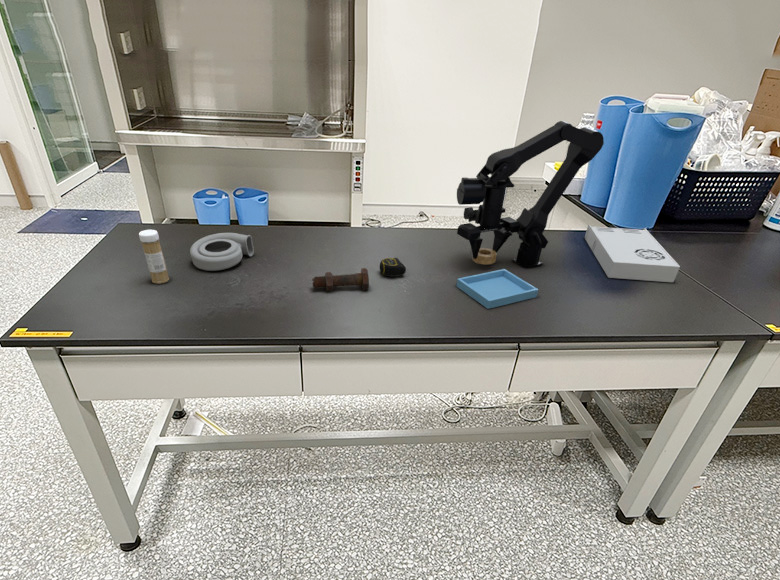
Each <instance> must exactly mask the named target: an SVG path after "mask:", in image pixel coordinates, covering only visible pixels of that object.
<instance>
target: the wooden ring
mask: <svg viewBox="0 0 780 580" xmlns="http://www.w3.org/2000/svg"><path fill="white" fill-rule="evenodd" d="M492 249H493V248H487V247H480V250H479V253H478V256H477V258H476V259H474V258H473V256H472V262H474V263H476V264H479V265H480V264H481V265H493V264H494V263H496V261H497V260H496V259H497V253H496V251H494V250H492Z"/></svg>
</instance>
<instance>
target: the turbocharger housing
mask: <svg viewBox="0 0 780 580" xmlns="http://www.w3.org/2000/svg"><path fill="white" fill-rule="evenodd" d="M189 253H190V257H191V261H192V264H193V265H194V266H195V267H196V268H197V269H200V270H203V271H208V272H216V271H218V272H219V271H224V270H226V269H231V268H232V267H234V266H237V265H238V264H239V263H240V262H241V261H242V258H243V255H245V256H248V257H253V255H254V254H255V247H254V242H253V237H252V235H250V234H248V235H247V234H242V233H236V232H220V233H219V232H218V233H214V234H209V235H206V236H203V237H202V238H200V239H198V240H196V241H195V242H194V243H193V244H192V245H191V247H190V249H189Z"/></svg>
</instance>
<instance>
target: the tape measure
mask: <svg viewBox="0 0 780 580" xmlns="http://www.w3.org/2000/svg"><path fill="white" fill-rule="evenodd" d="M406 270H407V268H406V265H404V264H403V263H402V261H401V260H400V259H399V258H398V257H386V258H383V259H382V260H380V263H379V271H380V273H381V274H382V275H383V276H387V277H398V276H403V275H404V274H406V272H407V271H406Z"/></svg>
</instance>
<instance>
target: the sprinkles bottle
mask: <svg viewBox="0 0 780 580" xmlns="http://www.w3.org/2000/svg"><path fill="white" fill-rule="evenodd" d="M138 237H139V241H140V242H141V245H142V250H143V253H144V257H145V260H146V265H147V267H148V271H149V275H150V277H151V278H150V279H151V282H152V283H153V284H157V285H158V284H159V285H161V284H165V283H167V282H169V281H170V277H169V274H168V270H167V264H166V261H165V257H164V254H163V251H162V247H161V243H160V236H159V232H158V231H157V230H156V229H144V230H141V231H140V232H139V233H138Z"/></svg>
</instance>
